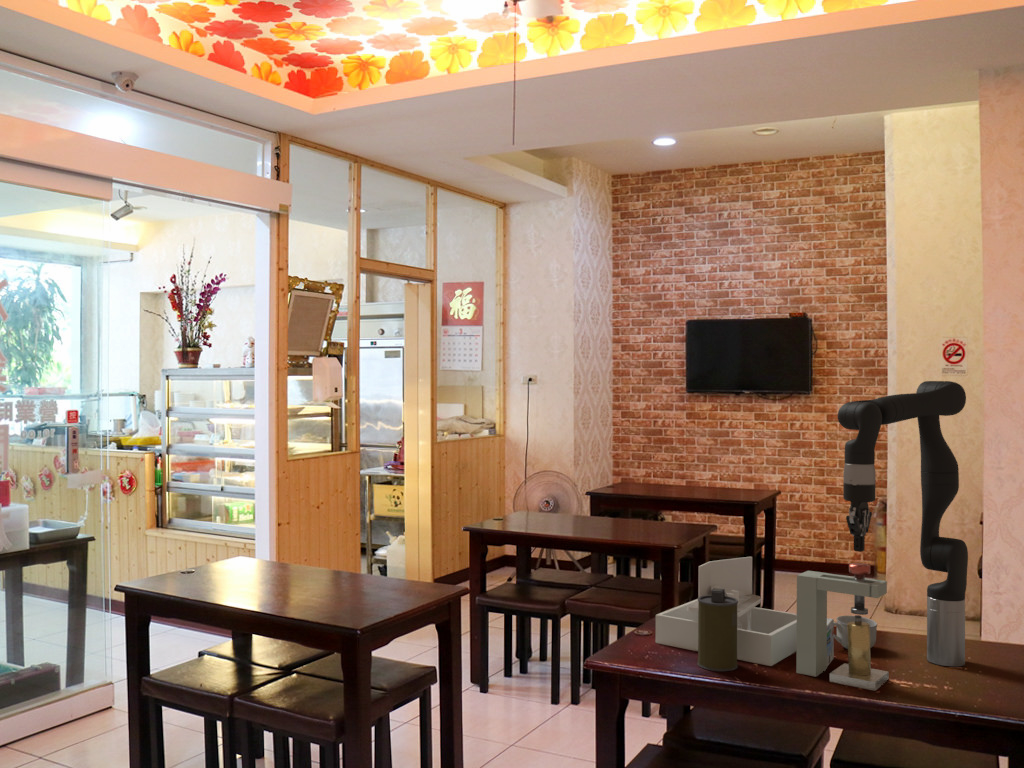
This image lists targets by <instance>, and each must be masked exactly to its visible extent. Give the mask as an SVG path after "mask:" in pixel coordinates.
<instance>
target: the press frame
mask: <svg viewBox="0 0 1024 768" xmlns="http://www.w3.org/2000/svg"><path fill="white" fill-rule="evenodd" d="M887 585H888V581H887V580H882V579H874V578H867V577H865V582H859V581H854V576H852V575H851V576H849V575H844V574H836V573H835V574H834V573H828V572H821V571H813V570H806V571H804V572H801V573H798V574H797V575H796V614H797V651H796V652H795V653H796V669H795V670H796V672H795V673H796V674H800V675H806V676H811V677H815V678H816V677H818V676H819V675H821V674H823V673H824V672H826V669H828V666H827V618H828V592H832V593H839V594H846V595H853V596H854V595H858V596H865V597H867V598H873V599H874V598H875V599H879V598H880V597H882V596H884V595H887V593H888V592H887V591H888V589H887V588H888V586H887ZM823 671H824V672H823Z"/></svg>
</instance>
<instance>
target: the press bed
mask: <svg viewBox="0 0 1024 768" xmlns="http://www.w3.org/2000/svg"><path fill="white" fill-rule="evenodd" d="M889 674H890V673H889V671H887V670H883V669H882V670H881V669H878V668H877V669H875V668H873V667H871V674H870V675H854V674H851V673H849V663H843V664H841V665H840V666H838V667H837V668H835V669H834V670H832V671H831V672H830V673H829V682H830V683H835V684H840V685H845V686H850V687H854V688H860V689H865V690H869V691H872V692H873V691H875V692H876V691H877V690H878V689H879V688H881V687H882V686H883V685H884V684H885V683H886V682H888V681H889V680H888V679H889V677H890V675H889ZM887 680H888V681H887ZM883 683H884V684H883ZM881 685H882V686H881Z"/></svg>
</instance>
